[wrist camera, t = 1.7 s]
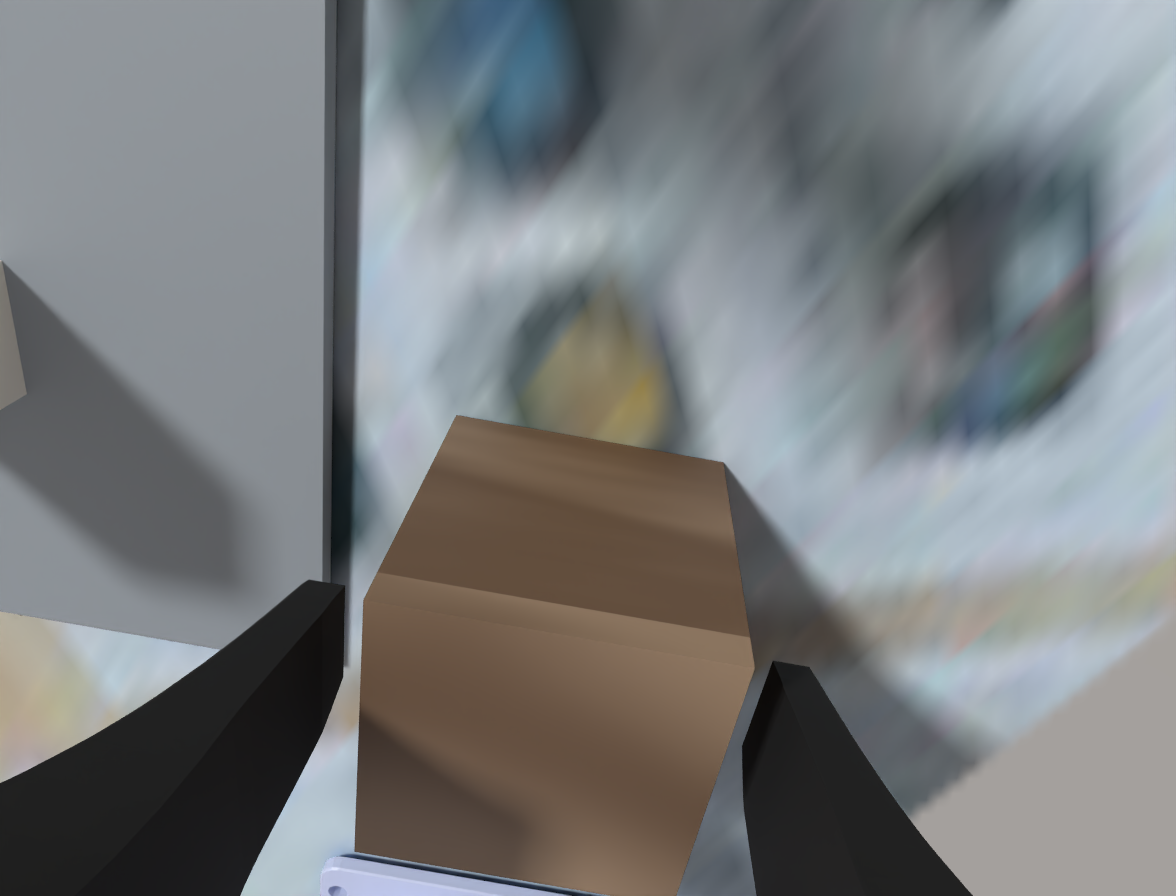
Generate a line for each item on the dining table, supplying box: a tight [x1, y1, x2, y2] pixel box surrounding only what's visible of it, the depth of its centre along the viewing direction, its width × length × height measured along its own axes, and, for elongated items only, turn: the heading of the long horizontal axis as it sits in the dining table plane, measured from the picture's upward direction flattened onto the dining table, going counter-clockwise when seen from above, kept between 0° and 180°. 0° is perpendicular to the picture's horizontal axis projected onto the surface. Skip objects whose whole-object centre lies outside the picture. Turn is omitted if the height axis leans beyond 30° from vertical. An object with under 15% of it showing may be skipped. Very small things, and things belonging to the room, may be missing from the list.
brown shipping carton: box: [355, 415, 755, 896], centre depth 14 cm, size 5×5×6 cm
